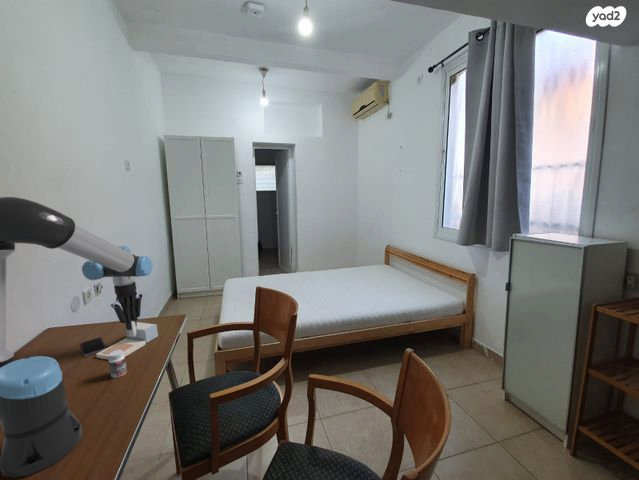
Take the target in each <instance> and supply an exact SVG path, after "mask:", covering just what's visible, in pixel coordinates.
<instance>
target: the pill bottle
mask: <svg viewBox="0 0 639 480" xmlns="http://www.w3.org/2000/svg"><path fill="white" fill-rule="evenodd" d="M109 358H110V359H109V360H108V366H109V373H110V377H111V378H113V379H116V378H120V377H122V376H125V375H126V373H127V370H128V369H127V364H126V356H125V357H124V355H123V352H122V350H115V351H113V352H111V353H110V354H109Z"/></svg>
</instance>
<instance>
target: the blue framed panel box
mask: <svg viewBox="0 0 639 480" xmlns="http://www.w3.org/2000/svg"><path fill="white" fill-rule="evenodd" d="M136 323H137V327H136V332H137V335H136V336H134V337H133V336H129V332H128V330H127V329H126V328H125V332H126V338H129V339H136V340H144V341H146V344H147V343H149V342H151V341H152V340H154V339H156V338H157V337H159V332H158V324H156V323H149V322H148V323H147V322H141V321H140V322H139V321H136Z"/></svg>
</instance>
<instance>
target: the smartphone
mask: <svg viewBox="0 0 639 480" xmlns="http://www.w3.org/2000/svg"><path fill="white" fill-rule="evenodd" d="M80 345H81V351H82V355H83V357H87V356H90V355H94V354H97V353H99V352H101V351H103V350H105V349H106V346H105V344H104V341H103V339H102V337H97V338H93V339H90V340H86V341H83V342H81V343H80Z"/></svg>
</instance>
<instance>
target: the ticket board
mask: <svg viewBox="0 0 639 480" xmlns="http://www.w3.org/2000/svg"><path fill="white" fill-rule="evenodd" d="M145 345H147V343H146V341H144V340H136V339H129V338H127V337H126V338H123V339H121V340H119V341H118V342H116V343H114V344H112V345H110V346H109V347H105V350H103V351H100V352H97V353H95V356H96V358H97V359H98V358H99V359H102V360H104V359H105V360H108V361H109V359H110V358H109V354H110V353H111V352H113V351H115V350H122V352H123V355H124V357H125V358H126V357H127V356H129V355H131V354H132V353H133V352H136V351H137V350H138V349H140V348H142V347H144V346H145Z"/></svg>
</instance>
